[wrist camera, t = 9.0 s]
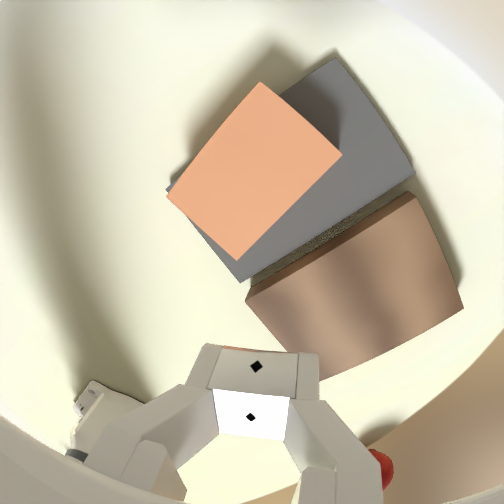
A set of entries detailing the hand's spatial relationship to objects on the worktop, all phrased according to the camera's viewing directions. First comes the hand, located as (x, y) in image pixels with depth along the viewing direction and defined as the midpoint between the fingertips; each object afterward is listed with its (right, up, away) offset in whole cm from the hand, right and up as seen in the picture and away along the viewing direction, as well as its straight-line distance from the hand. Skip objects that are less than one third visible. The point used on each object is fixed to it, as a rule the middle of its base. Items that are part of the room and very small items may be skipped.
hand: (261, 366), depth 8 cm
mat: (+2, +8, +12) cm, 15 cm away
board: (+8, 0, +14) cm, 16 cm away
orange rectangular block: (0, +9, +11) cm, 14 cm away
